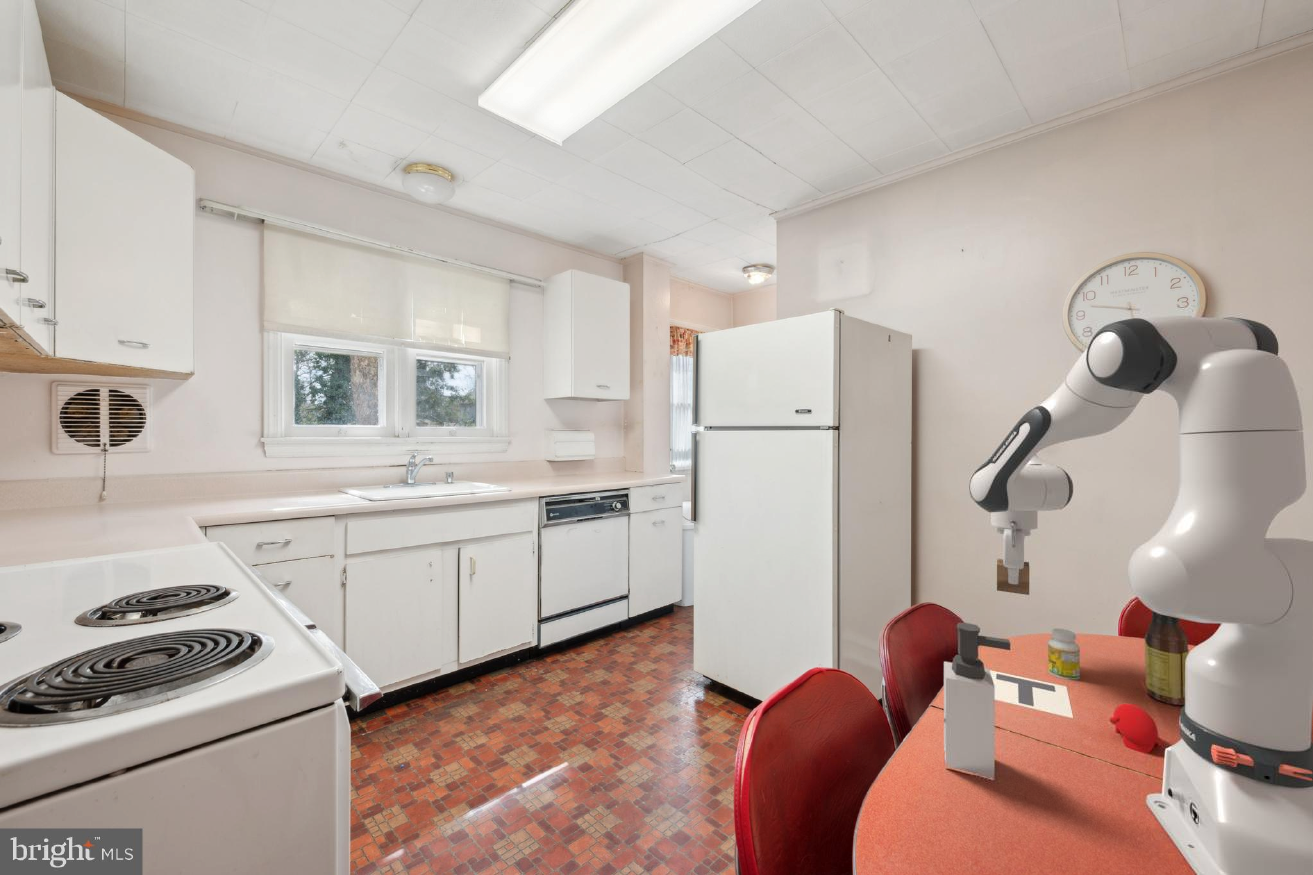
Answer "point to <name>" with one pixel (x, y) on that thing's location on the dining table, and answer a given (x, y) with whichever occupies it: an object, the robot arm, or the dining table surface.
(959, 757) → the soap dispenser
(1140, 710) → the red rounded lump
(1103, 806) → the dining table surface
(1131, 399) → the robot arm
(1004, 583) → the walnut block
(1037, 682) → the letter tile
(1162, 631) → the sauce bottle
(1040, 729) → the dining table surface
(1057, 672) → the supplement bottle
